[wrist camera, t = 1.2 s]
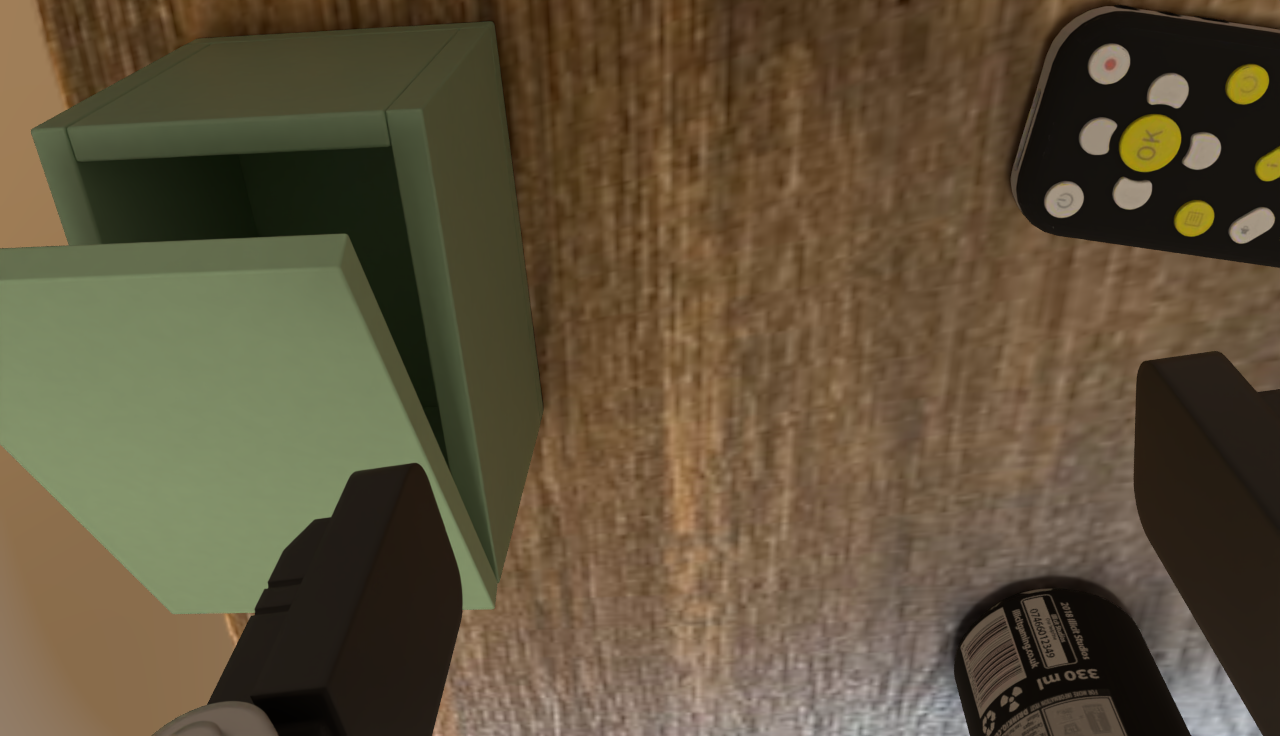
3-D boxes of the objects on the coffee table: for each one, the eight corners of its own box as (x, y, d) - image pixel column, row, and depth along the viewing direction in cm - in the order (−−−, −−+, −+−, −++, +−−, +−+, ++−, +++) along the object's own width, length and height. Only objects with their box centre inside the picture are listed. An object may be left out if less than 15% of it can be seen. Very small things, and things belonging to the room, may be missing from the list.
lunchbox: (194, 37, 32) (28, 129, 24) (494, 20, 31) (422, 108, 23) (291, 418, 38) (183, 589, 30) (544, 411, 37) (499, 584, 29)
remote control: (1420, 272, 33) (1460, 301, 31) (992, 211, 33) (1008, 236, 31) (1528, 62, 30) (1579, 81, 28) (1058, -7, 30) (1079, 8, 28)
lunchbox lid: (-140, 252, 19) (-161, 288, 19) (348, 231, 18) (339, 267, 18) (180, 586, 30) (171, 614, 29) (498, 581, 29) (495, 610, 29)
